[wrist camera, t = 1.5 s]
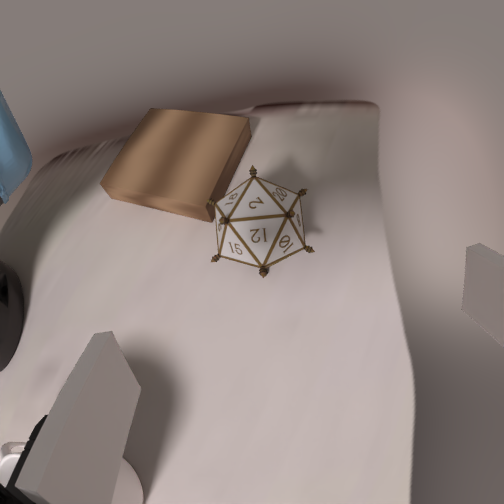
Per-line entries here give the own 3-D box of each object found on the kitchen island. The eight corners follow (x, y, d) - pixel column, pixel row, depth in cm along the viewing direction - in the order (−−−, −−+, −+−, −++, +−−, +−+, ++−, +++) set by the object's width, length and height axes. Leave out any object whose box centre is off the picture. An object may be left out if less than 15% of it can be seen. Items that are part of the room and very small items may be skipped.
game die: (255, 246, 34) (244, 151, 29) (330, 263, 29) (327, 155, 25) (196, 289, 28) (171, 179, 23) (278, 320, 23) (265, 186, 18)
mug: (60, 407, 25) (-18, 401, 15) (159, 475, 22) (96, 508, 12) (39, 468, 22) (-33, 476, 12) (131, 536, 19) (70, 578, 9)
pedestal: (111, 198, 34) (99, 183, 31) (157, 124, 39) (150, 108, 36) (212, 222, 31) (205, 206, 29) (251, 136, 36) (248, 118, 33)
